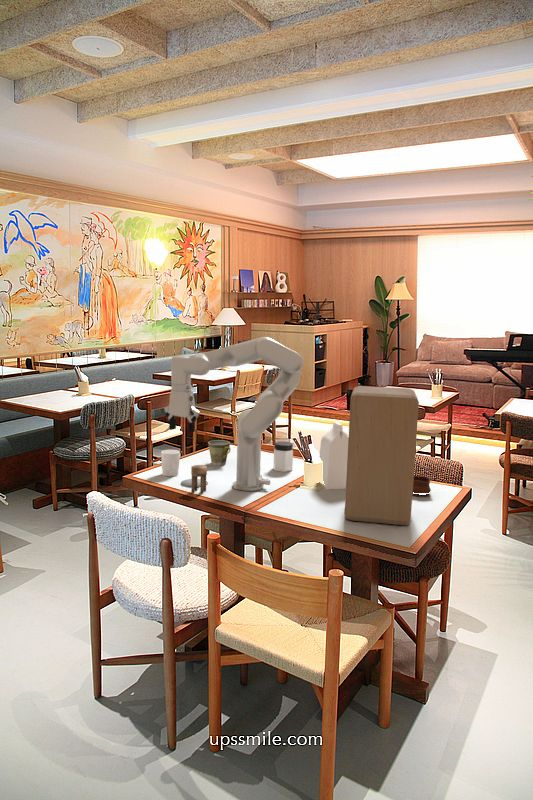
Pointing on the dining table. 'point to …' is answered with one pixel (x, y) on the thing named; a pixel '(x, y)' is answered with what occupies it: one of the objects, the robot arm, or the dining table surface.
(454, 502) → the dining table surface
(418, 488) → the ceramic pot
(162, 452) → the white cup
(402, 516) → the block
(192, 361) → the robot arm
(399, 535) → the dining table surface
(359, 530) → the dining table surface
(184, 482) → the felt mat
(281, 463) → the jar
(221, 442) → the ceramic cup
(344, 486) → the milk
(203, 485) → the stool mini
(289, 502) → the dining table surface
